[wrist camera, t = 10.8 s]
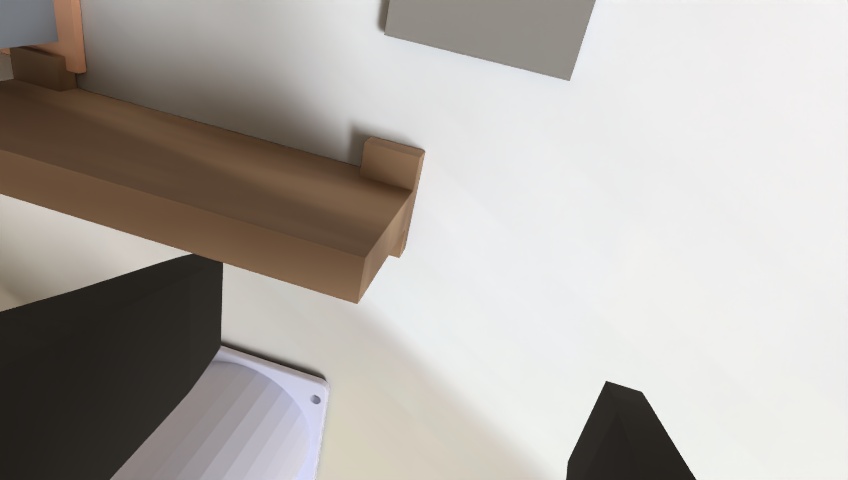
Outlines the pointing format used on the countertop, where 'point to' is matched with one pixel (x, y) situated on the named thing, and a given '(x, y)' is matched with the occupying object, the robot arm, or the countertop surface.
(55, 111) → the walnut screen
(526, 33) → the grey slate tile
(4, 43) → the lettered cube
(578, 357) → the countertop surface
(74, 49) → the terracotta tile
